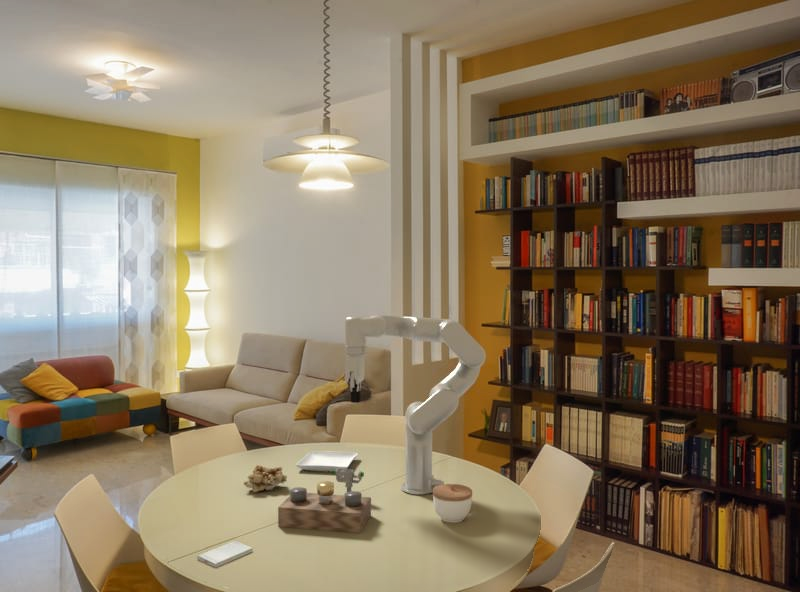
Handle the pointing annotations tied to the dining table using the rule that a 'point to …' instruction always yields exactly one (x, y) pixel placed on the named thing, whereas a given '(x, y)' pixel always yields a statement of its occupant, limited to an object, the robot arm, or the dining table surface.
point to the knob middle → (325, 492)
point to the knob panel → (324, 514)
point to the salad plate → (326, 460)
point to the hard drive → (224, 553)
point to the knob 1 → (298, 494)
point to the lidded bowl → (452, 502)
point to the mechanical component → (348, 477)
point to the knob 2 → (353, 499)
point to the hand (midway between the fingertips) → (355, 402)
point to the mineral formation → (265, 478)
